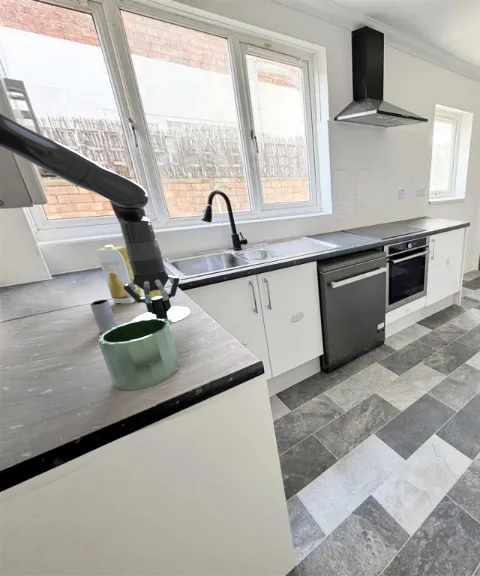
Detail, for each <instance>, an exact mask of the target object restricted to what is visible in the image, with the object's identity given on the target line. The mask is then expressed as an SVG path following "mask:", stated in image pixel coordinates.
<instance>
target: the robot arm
mask: <svg viewBox="0 0 480 576" xmlns="http://www.w3.org/2000/svg"><path fill="white" fill-rule="evenodd" d="M0 148H3V149H4V150H7V151H8V152H11V153H13V154H14V155H16V156H18V157H20V158H22V159H24V160H26V161H28V162H29V163H32V164H33V165H35V166H37V167H39V168H41V169H43V170H45V171H47V172H48V173H50V174H52V175H53V176H54V175H55V176H56V177H57V178H61V179H62V180H64V181H67V182H69V183H71V184H72V185H74V186H77V187H79V188H81V189H83V190H86V191H89V192H93V193H95V194H97V195H99V196H101V197H103V198H104V199H107V200H109V204H110V206H111V208H112V210H113V213H114V215H115V217H116V219H117V222H118V223H119V226H120V231H121V234H122V238H123V241H124V244H125V245H124V246H126V252H127V255H128V258H129V262H130V265H131V269H132V272H133V275H134V279H133V282H131V283H129V284H125V285H124V290H125V291H127V292H128V293H129V294H130V295H131V296H132V297H133V298H134V299H135V300H136V303H138V304H141V303H143V304H145V306H146V309H147V313H148V312H149V313H152V315H153V314H155V312H154V309H153V305H152V302H151V300H150V292H151V291H154V290H160V292H161V294H162V296H163V298H164V304H165V308H166V311H167V312H168V311H169V309H171V307H172V305H171V301H170V299H171V298H173V297H174V298H175V297H176V294H177V290H178V288H179V287H178V286H179V282H180V277H179V276H178V275H175V276H173V275H170V274H169V273H167V271H166V268H165V264H164V259H163V257H162V251H161V249H160V245H159V244H158V241H157V238H156V234H155V230H154V226H153V224H152V222H151V220H150V219H148V217H147V215H146V212H145V209H144V208H145V207H146V206H147V205H148V203H149V195H148V193H147V191H146V190H145V189H144V188H143V187H142V186H141V185H140V184H138V183H136V182H135V181H132V180H131V179H129V178H126V177H125V176H122V175H120V174H118V173H116V172H114V171H111V170H109V169H107V168H105V167H103V166H101V165H100V164H98V163H97V162H95V161H93V160H91V159H89V158H88V157H86V156H85V155H82V154H80V153H79V152H77V151H76V150H73V149H71V148H69V147H67V146H66V145H64V144H62V143H60V142H58V141H55V140H53V139H51V138H49V137H47V136H45V135H42V134H41V133H39V132H36V131H34V130H32V129H30V128H28V127H26V126H24V125H22V124H20V123H18V122H16V121H15V120H13V119H11V118H9V117H7V116H6V115H4V114H2V113H1V112H0ZM168 281H169V282H170V284H171V288H170V291H169V292H168V291H167V290H166V287H165V286H166V284H167V283H168ZM134 285H137V286H138V287H140V288H141V290H144V291H143V294H144V293H145V294H144V296H143V297H141V296H140V295H139V294H138V293H137V292H136V291H135V286H134Z"/></svg>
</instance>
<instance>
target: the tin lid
mask: <svg viewBox="0 0 480 576" xmlns="http://www.w3.org/2000/svg"><path fill="white" fill-rule="evenodd" d="M151 302H152V305H153V309H154V312H155V314H153V315H152V313H149V312H148V311H147V312H145V313H143V314H140V315H138V316H137V317H135V318H134V319H132V321H131V322H133V321H138V320H143V319H153V318H156V319H164V320H167V321H168V323H169V326H171V325H174V324H177V323H179V322H181V321H184V320H185V319H187V318H188V317H189V316H190V315H191V313H192V312H191V310H190V309H189V308H188V307H186V306H185V307H184V306H171V309H169V311H168V312H167V311H166V308H165V304H164V299H163V296H157V297H153V298H151Z"/></svg>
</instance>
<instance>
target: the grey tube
mask: <svg viewBox="0 0 480 576" xmlns="http://www.w3.org/2000/svg"><path fill="white" fill-rule="evenodd" d="M89 306H90V308H91V311H92V314H93V316H94V319H95V322H96V325H97V328H98V330H99V333H100V334H103V333H105V332H106V331H108V330H110V329H112V328H114V327H117V326H118V325H117V322H116V319H115V316H114V313H113V310H112V307H111V304H110V301H109V299H99V300H95V301H92V302H90V304H89Z"/></svg>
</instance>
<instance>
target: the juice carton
mask: <svg viewBox="0 0 480 576" xmlns="http://www.w3.org/2000/svg"><path fill="white" fill-rule="evenodd" d="M96 254H97V257H98V260H99V264H100V266H101V269H102V272H103V276H104V278H105V281H106V285H107V289H108V291H109V294H110V298H111V300H112V302H113V304H115V303H121V304H134V303H136V302H137V301H136V300H135V299H134V298H133V297H132V296H131V295H130V294H129V293H128V292H127V291H125V290H124V285H125V284H129V283H131V282H133V279H134V275H133V272H132V269H131V265H130V262H129V258H128V255H127V252H126V246H125V245H124V246H114V245H113V244H108V245H104V247H101V248H97V249H96ZM134 286H135V291H136V292H137V293H138V294H139V295H140V296H141V297H144V295H143V291H142V290H143V289H141V288H140V287H138V286H137V285H134ZM135 301H136V302H135ZM133 302H134V303H133Z"/></svg>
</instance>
